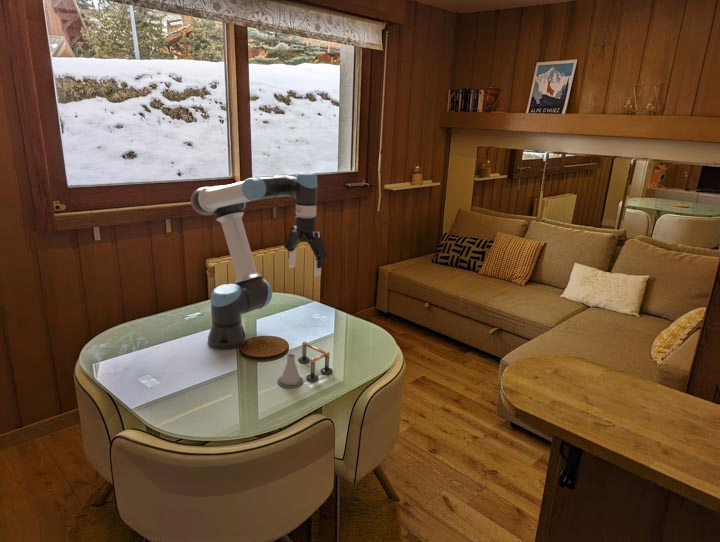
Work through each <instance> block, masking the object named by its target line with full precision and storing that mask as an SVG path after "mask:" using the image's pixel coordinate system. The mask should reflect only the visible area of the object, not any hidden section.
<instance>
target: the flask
mask: <svg viewBox="0 0 720 542" xmlns="http://www.w3.org/2000/svg"><path fill="white" fill-rule="evenodd" d="M285 356H286V365H285V367H284V369H283V372H282V375H281V376H280V377H281V383H283V384H286V385H296V384H297V383H299V382H300V377H301V376H300V374H299V371H298V368H297V366H296V360H295V358H296V354H295V353H287V354H286V355H285Z"/></svg>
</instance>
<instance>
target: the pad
mask: <svg viewBox="0 0 720 542" xmlns="http://www.w3.org/2000/svg"><path fill="white" fill-rule="evenodd" d="M281 377H282V376H279V378H278V379H277V385H278V386H279V387H280V388H284V389H297V388H299V387H301V386H302V385H303V383H304V379H303V378H302V377H301V376H300V382H299V383H297V384H296V385H286V384H283V383H281Z"/></svg>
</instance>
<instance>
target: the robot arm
mask: <svg viewBox="0 0 720 542" xmlns="http://www.w3.org/2000/svg"><path fill="white" fill-rule="evenodd" d="M282 197H283V198H284V197H290V198H294V199H295V215H296V216H295V218H294V219H295V225H292V226H290V227H289V228H290V229H289V233H288V236H287V238H286V241H285V243H284V249H286V251H288V252H287V257H288V268H289V269H293V268H296V261H297V260H296V258H297V257H296V256H297V251H296V248H297V247H298V245H299V244H300V242H301V241H302V242H305V243H307V244H308V245H309V247H310V248H311V251H312V252H313V254H314V257H315V259H314V267H313V268H314V270H313V272H314V273H313V277H315V278H316V277H320V276H322V268H323V260H324V259H327V258H328V255H327V251H326V249H325V246H324V241H323V238H322V232H321V231H315V228H316V226H317V217H316V216H317V201H318V200H317V198H318V176H317V174H316V173H314V172H309V171H308V172H305V171H302V172H301V171H299V172H297V173H296V176H294V175H288V174H275V175H274V176H263V177H262V176H261V177H257V176H255V177H248V178H246V179H245V180H243V181H237V182H234V183H231V184H230V183H229V184H224V185H213V186H203V187H199V188H197V189H195V190H194V192H193V193H192V194H191V198H190V204H191V207H192V208H193V210H194V211H195V212H196V213H198V214H200V215H203V216H215V219H216V222H218V223H220V224H221V227H222V231H223V234H224V237H225V242H226V245H227V248H228V250H229V251H228V252H229V255H230V259H231V262H232V265H233V269H234V272H235V276H236V280H235V281H234V283H228V284H226V283H225V284H221V285H219V286H216V287H215V288H214V289H212V291H211V293H210V307H211V309H210V310H211V327H210V330H209V334H208V336H207V344H208V346H210V347H211V348H213V349H217V350H232V349H237V348H239V347H242V346H243V345H244V344H246V342H247V334H246V332H245V329H244V326H243V323H242V315H244V314H248V313H250V312H254V311H256V310H260V309H262V308H264V307H266V306H268V305H269V304H270V302H271V300H272V298H273V290H272V286H271V284H270V283H269V282H268V280H266V279H263V276H262V274H260V273H259V272H258V271H257V268H256V264H255V260H254V257H253V253H252V251H251V247H250V242H249V240H248V237H247V233H246V230H245V226H244V222H243V216H244V214H245V213H244V212H245V211H244V210H245V208H246V205H247V203H248V202H254V201H258V200H264V199H265V200H266V199H272V198H282ZM242 344H243V345H242ZM241 345H242V346H241Z"/></svg>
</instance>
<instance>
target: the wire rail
mask: <svg viewBox="0 0 720 542" xmlns="http://www.w3.org/2000/svg"><path fill="white" fill-rule="evenodd" d="M301 344H302V348H301V350H302V351H301V357H299V358H298V363H299V364H308V363H310V366H309V367H310V368H309V369H310V370H309V372H310V373H309V374H308V375H307V376H305V379H306V381H307V382H309V383H316V382H318V380H319V376H318V375H317V374H315V373H316V361H319V360H321V359H323V358H324V367H322V368H320V373H321V374H322V375H332V374H333V369H332V368H331V367H330V354H331V353H330V352H329V351H326V350H325V351H324V350H322V349H321V348H318V347H316V346H313V345H312V344H309V343H308V342H307V341H306V340H305V341H304V340H303V342H301ZM307 347H308V348H310V349H312V350H314V351H316V352H319V353H321V355H319V356H317V357H312V358H311V359H310V357H308V356H307Z"/></svg>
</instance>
